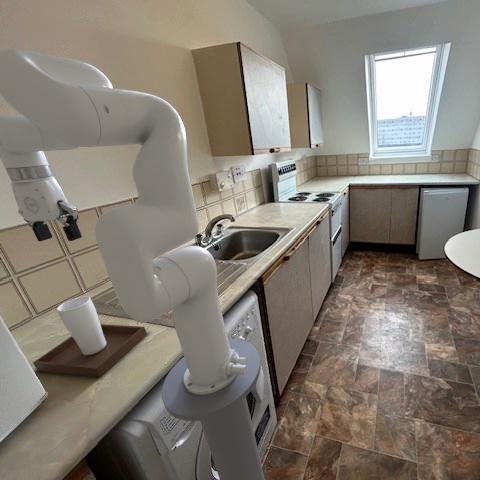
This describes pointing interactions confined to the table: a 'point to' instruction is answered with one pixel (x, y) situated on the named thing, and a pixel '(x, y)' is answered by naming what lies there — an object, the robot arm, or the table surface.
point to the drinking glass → (83, 324)
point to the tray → (75, 362)
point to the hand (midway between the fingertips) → (60, 239)
